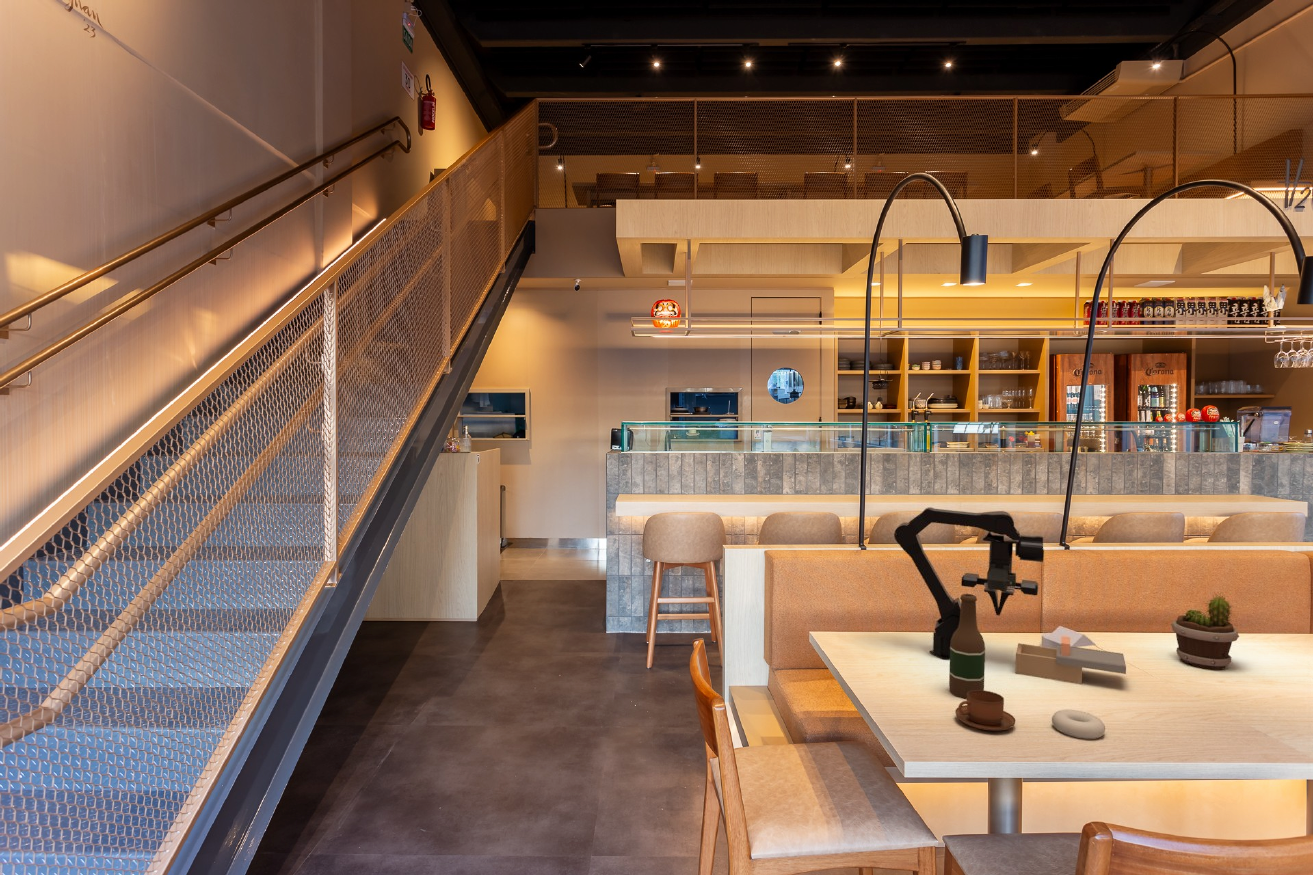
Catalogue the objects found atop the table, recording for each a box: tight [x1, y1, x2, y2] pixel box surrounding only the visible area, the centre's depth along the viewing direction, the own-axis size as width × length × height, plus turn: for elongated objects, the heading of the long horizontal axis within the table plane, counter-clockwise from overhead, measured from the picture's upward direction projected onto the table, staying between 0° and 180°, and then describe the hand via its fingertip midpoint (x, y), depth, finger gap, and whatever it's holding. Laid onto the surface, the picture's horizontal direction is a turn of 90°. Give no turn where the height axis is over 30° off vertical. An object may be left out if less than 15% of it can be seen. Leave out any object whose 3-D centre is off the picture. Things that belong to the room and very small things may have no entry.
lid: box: [1056, 636, 1127, 675], centre depth 191 cm, size 15×12×5 cm
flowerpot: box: [1170, 592, 1240, 670], centre depth 204 cm, size 14×15×20 cm
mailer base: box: [1015, 642, 1083, 685], centre depth 196 cm, size 15×10×5 cm, turn 61°
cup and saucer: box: [955, 689, 1016, 732], centre depth 163 cm, size 12×12×6 cm
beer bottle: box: [948, 593, 986, 700], centre depth 180 cm, size 8×8×24 cm
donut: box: [1051, 709, 1106, 740], centre depth 160 cm, size 10×4×10 cm
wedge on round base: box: [1041, 625, 1097, 649], centre depth 215 cm, size 9×7×13 cm
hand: (998, 615), depth 204 cm, fingers closed
